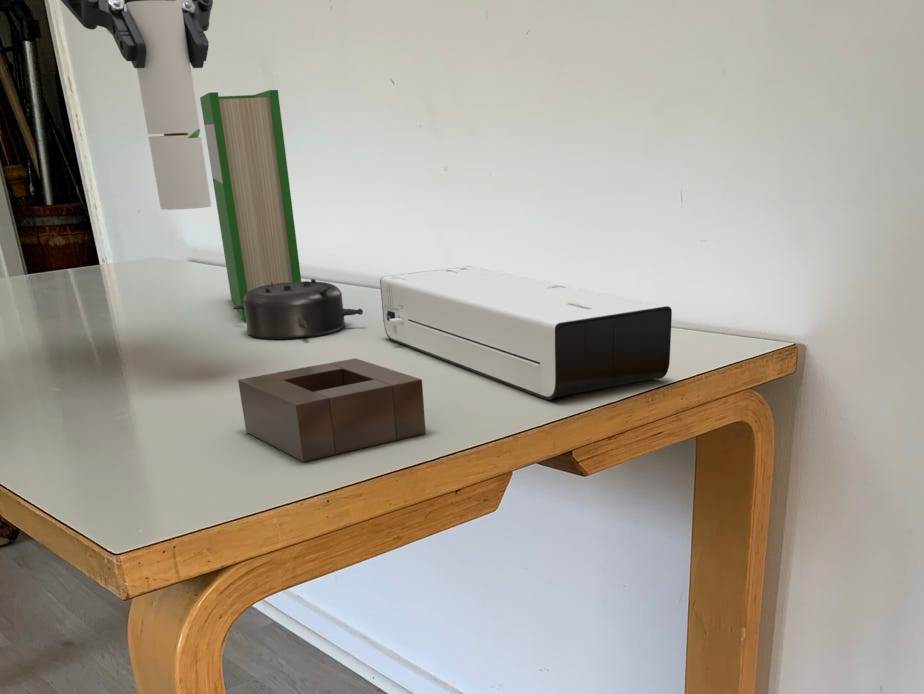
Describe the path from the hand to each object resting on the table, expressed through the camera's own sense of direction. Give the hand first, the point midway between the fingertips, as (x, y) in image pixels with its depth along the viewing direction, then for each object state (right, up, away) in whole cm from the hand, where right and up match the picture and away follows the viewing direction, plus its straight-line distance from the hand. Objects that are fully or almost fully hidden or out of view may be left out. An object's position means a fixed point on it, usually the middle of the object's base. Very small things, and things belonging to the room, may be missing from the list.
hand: (171, 58), depth 79 cm
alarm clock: (+9, -11, +28) cm, 31 cm away
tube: (-1, -9, +7) cm, 11 cm away
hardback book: (-2, -4, +47) cm, 47 cm away
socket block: (+14, -31, -5) cm, 35 cm away
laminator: (+27, -20, +15) cm, 37 cm away
